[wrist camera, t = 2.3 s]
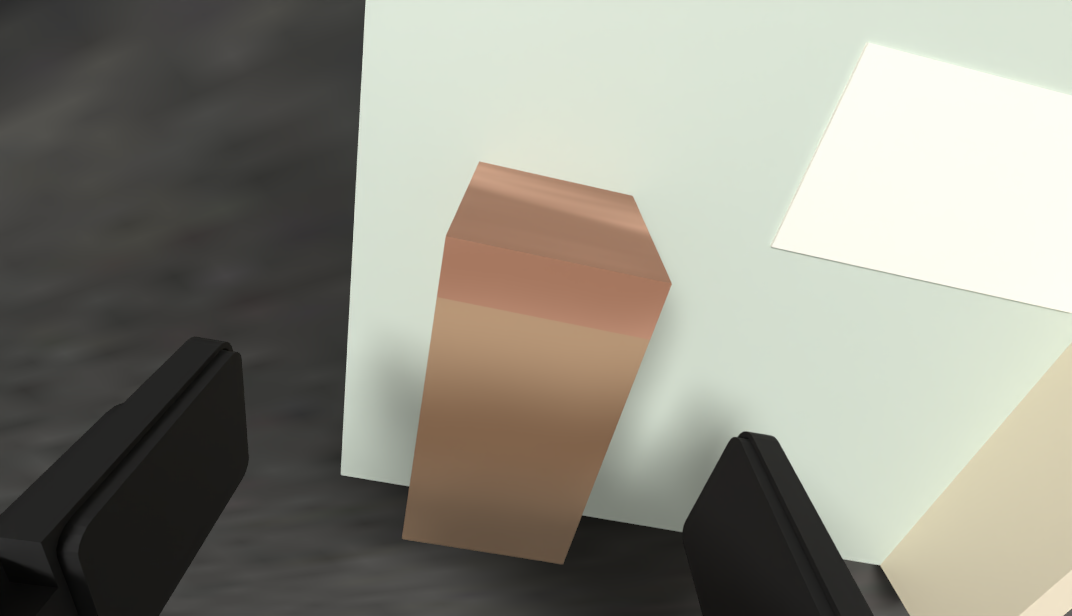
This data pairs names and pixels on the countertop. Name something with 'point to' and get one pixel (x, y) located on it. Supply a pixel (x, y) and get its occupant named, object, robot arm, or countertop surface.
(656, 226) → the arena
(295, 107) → the countertop surface
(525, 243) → the copper block
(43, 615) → the robot arm
